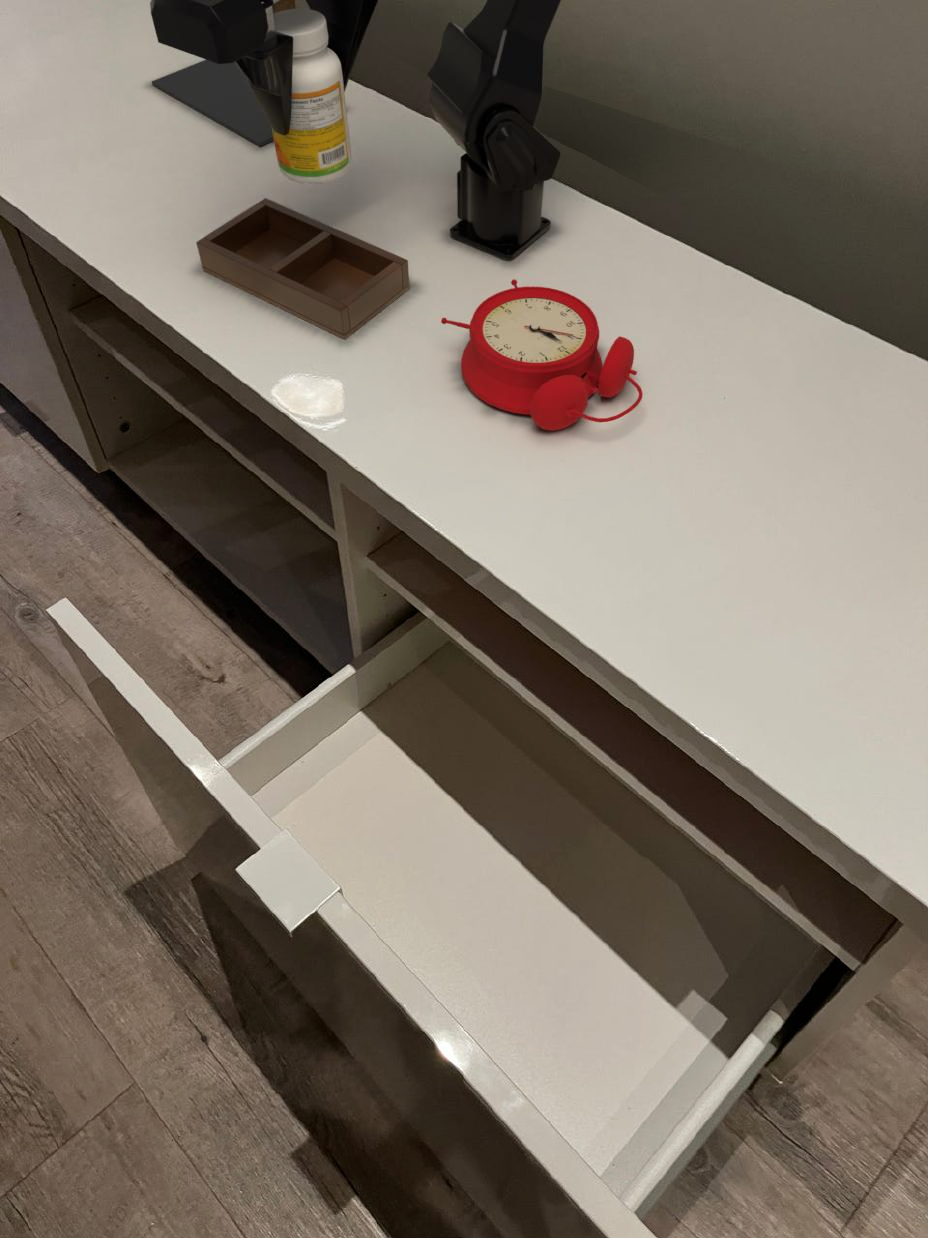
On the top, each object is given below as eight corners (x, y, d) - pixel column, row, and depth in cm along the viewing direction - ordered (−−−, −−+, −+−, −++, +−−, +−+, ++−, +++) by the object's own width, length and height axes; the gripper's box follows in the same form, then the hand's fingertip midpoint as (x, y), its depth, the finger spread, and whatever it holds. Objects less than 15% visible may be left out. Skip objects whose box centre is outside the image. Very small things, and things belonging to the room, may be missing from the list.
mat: (339, 110, 92) (339, 106, 92) (260, 147, 88) (259, 142, 88) (230, 53, 100) (229, 49, 99) (152, 85, 95) (151, 81, 95)
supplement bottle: (288, 146, 70) (265, 1, 62) (358, 149, 69) (343, 4, 62) (271, 183, 67) (244, 36, 59) (344, 188, 66) (327, 40, 58)
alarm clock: (524, 261, 70) (679, 311, 61) (532, 337, 75) (678, 393, 66) (420, 318, 66) (571, 380, 57) (435, 394, 71) (577, 463, 62)
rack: (270, 226, 80) (265, 197, 78) (409, 288, 75) (408, 259, 73) (203, 270, 76) (195, 241, 74) (344, 339, 71) (340, 310, 69)
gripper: (274, -225, 60) (309, 39, 72) (46, -147, 51) (131, 138, 63) (411, -197, 56) (422, 77, 69) (190, -108, 47) (250, 188, 60)
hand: (308, 116), depth 65 cm, fingers closed on supplement bottle, 5 cm apart
